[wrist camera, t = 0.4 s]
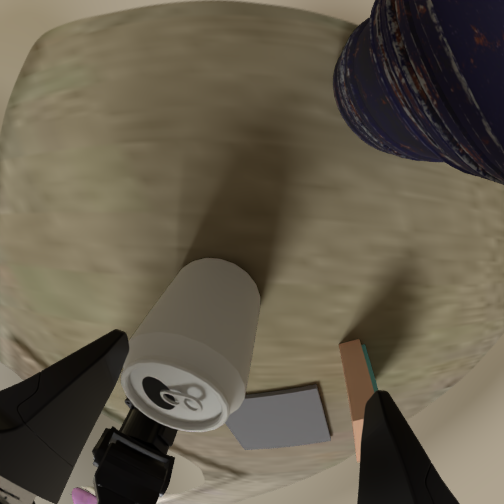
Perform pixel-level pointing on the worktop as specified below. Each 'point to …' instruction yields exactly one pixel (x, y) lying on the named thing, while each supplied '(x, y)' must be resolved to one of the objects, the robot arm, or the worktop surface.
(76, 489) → the teapot
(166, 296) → the can
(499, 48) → the storage jar
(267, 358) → the worktop surface
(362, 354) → the tile
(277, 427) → the mat
